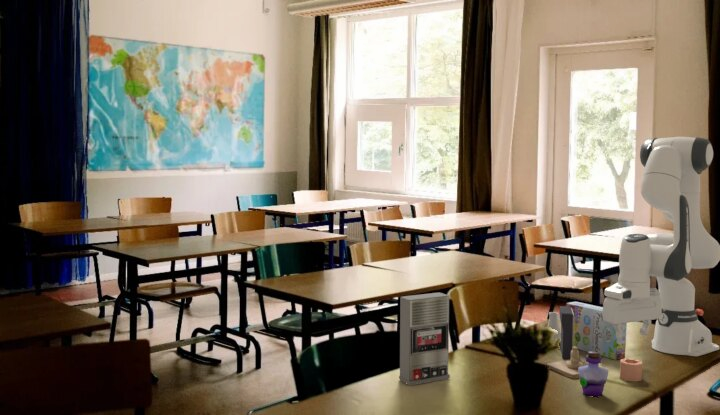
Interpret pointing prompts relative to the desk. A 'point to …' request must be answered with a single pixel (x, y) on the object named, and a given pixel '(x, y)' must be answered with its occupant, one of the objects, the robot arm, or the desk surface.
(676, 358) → the desk surface
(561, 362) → the stand
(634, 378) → the pink cylinder
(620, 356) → the snack box
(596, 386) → the potion bottle
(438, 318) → the cassette tape recorder
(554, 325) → the flask
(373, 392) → the desk surface
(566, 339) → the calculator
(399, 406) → the desk surface
